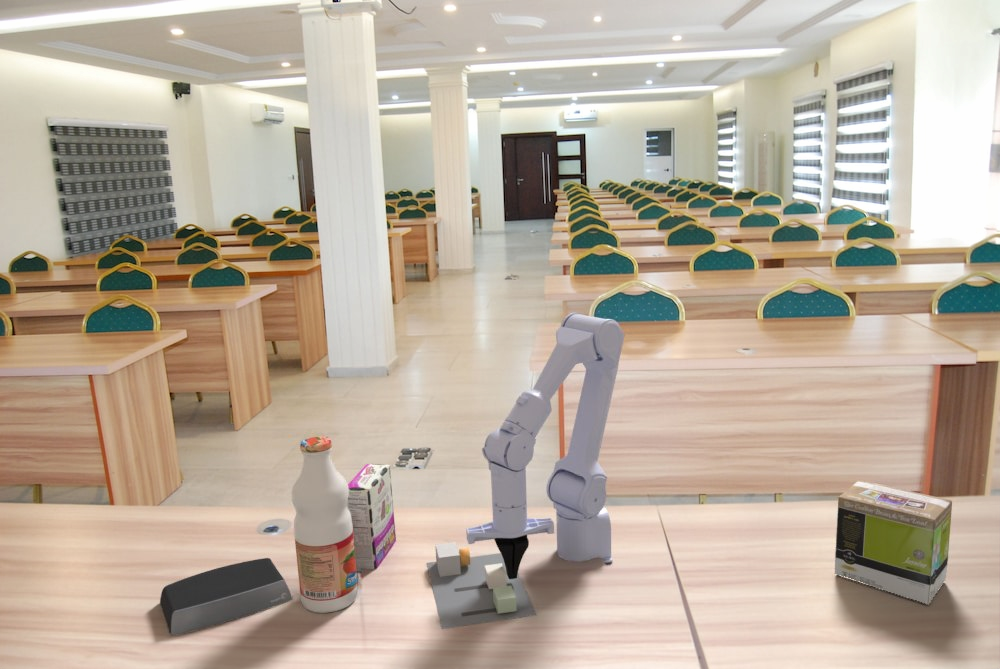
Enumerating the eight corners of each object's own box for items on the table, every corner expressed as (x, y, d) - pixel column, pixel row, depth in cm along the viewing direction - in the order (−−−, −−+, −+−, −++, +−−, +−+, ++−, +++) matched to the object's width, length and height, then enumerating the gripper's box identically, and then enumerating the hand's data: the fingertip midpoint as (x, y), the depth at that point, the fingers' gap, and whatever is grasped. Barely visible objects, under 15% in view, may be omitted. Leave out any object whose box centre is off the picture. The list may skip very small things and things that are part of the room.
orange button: (467, 559, 144) (467, 545, 143) (470, 567, 141) (469, 552, 140) (459, 560, 143) (458, 546, 143) (461, 568, 141) (460, 553, 140)
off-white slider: (502, 576, 138) (501, 563, 137) (506, 586, 134) (506, 573, 134) (485, 578, 137) (484, 565, 137) (488, 589, 134) (488, 576, 133)
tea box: (946, 582, 134) (955, 499, 131) (928, 607, 127) (936, 520, 123) (853, 554, 144) (859, 476, 141) (832, 576, 137) (837, 495, 134)
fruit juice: (296, 592, 138) (280, 437, 131) (350, 579, 141) (337, 427, 135) (307, 620, 129) (291, 455, 123) (364, 605, 133) (352, 444, 127)
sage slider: (511, 599, 131) (511, 585, 130) (516, 611, 127) (516, 597, 127) (493, 601, 130) (492, 588, 130) (497, 613, 127) (497, 599, 126)
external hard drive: (294, 604, 135) (292, 581, 134) (171, 641, 126) (168, 618, 125) (273, 571, 146) (271, 550, 145) (159, 603, 137) (156, 581, 136)
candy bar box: (372, 543, 154) (366, 462, 150) (397, 545, 153) (391, 463, 149) (350, 573, 143) (342, 486, 140) (376, 575, 142) (370, 488, 139)
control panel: (508, 557, 147) (508, 533, 146) (537, 620, 127) (536, 594, 126) (426, 567, 144) (425, 544, 143) (442, 634, 124) (440, 607, 123)
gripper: (545, 486, 138) (547, 559, 141) (462, 496, 136) (465, 569, 139) (556, 503, 132) (558, 579, 135) (469, 513, 129) (472, 591, 132)
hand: (511, 575), depth 136 cm, fingers closed
